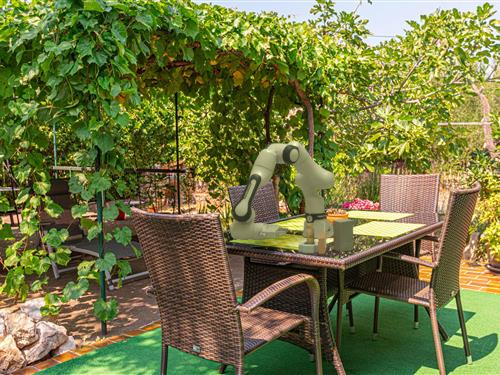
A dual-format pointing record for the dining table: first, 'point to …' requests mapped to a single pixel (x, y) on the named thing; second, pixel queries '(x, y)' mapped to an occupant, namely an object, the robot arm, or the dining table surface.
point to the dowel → (310, 233)
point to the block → (308, 247)
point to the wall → (322, 243)
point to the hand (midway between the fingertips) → (287, 231)
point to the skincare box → (343, 235)
